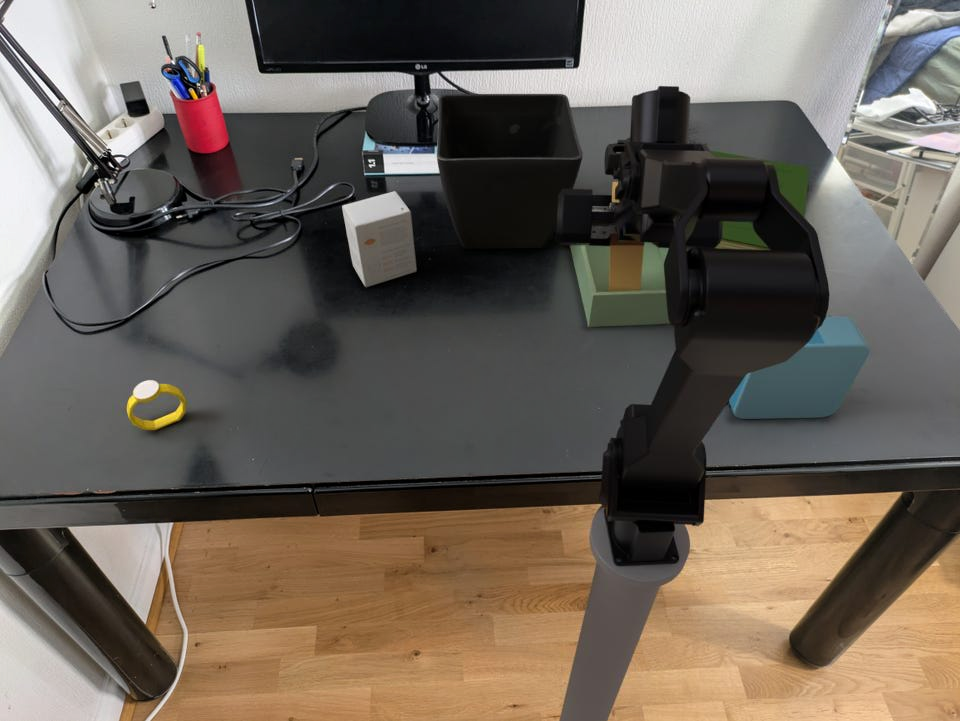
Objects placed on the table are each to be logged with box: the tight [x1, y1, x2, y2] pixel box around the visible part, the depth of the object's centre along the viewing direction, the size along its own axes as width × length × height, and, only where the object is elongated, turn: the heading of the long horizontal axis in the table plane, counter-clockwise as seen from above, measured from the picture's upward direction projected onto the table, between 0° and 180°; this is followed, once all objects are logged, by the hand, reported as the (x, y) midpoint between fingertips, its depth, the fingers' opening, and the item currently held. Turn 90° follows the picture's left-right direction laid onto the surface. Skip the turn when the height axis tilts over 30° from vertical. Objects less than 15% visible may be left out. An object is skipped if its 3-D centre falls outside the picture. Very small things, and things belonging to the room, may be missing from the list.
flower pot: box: [436, 93, 583, 250], centre depth 101 cm, size 19×19×17 cm
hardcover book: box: [686, 149, 810, 251], centre depth 106 cm, size 25×19×4 cm
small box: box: [341, 190, 418, 288], centre depth 96 cm, size 8×6×10 cm
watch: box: [126, 379, 187, 431], centre depth 78 cm, size 6×3×6 cm, turn 118°
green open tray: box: [569, 242, 671, 328], centre depth 96 cm, size 21×13×6 cm, turn 3°
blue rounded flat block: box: [728, 316, 871, 420], centre depth 77 cm, size 12×4×12 cm, turn 91°
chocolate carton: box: [609, 181, 644, 292], centre depth 87 cm, size 7×4×13 cm, turn 171°
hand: (625, 231), depth 88 cm, fingers closed on chocolate carton, 4 cm apart
